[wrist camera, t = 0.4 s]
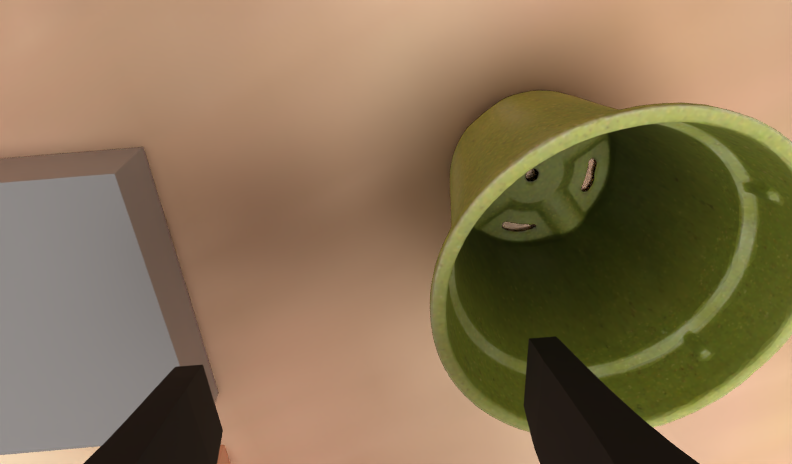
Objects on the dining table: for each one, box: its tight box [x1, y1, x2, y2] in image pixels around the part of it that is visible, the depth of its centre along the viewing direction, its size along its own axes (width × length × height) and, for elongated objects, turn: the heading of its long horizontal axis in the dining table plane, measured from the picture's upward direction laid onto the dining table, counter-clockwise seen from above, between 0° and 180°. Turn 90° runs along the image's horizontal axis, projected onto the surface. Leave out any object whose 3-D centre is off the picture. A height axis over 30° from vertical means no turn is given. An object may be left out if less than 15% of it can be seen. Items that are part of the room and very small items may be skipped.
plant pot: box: [430, 90, 792, 432], centre depth 17 cm, size 9×9×9 cm
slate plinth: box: [0, 147, 219, 455], centre depth 21 cm, size 12×12×3 cm
